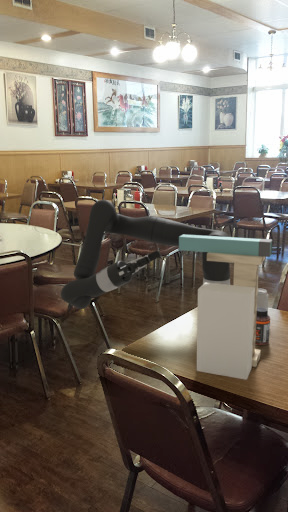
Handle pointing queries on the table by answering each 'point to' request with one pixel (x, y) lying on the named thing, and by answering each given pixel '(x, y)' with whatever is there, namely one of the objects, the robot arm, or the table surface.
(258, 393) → the table surface
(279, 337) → the table surface
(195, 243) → the teal bar
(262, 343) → the supplement bottle
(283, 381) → the table surface
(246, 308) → the base pedestal
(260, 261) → the beige wooden column stand
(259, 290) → the can
